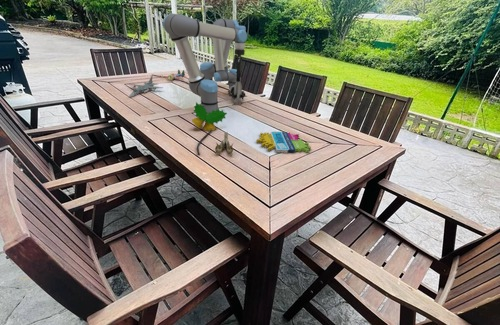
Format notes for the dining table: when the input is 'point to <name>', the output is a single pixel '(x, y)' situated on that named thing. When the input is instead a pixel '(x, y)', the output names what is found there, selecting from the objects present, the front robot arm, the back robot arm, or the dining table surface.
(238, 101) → the bottle
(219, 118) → the ornament
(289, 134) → the packaged fuzzy gloves
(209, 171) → the dining table surface
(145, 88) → the airplane
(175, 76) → the toy
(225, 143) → the jawbone
